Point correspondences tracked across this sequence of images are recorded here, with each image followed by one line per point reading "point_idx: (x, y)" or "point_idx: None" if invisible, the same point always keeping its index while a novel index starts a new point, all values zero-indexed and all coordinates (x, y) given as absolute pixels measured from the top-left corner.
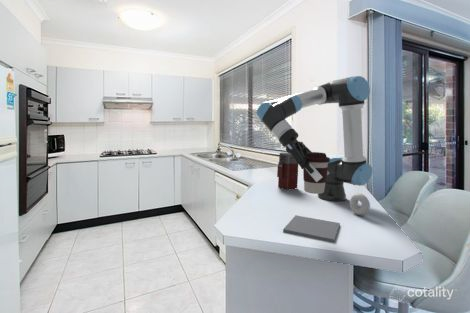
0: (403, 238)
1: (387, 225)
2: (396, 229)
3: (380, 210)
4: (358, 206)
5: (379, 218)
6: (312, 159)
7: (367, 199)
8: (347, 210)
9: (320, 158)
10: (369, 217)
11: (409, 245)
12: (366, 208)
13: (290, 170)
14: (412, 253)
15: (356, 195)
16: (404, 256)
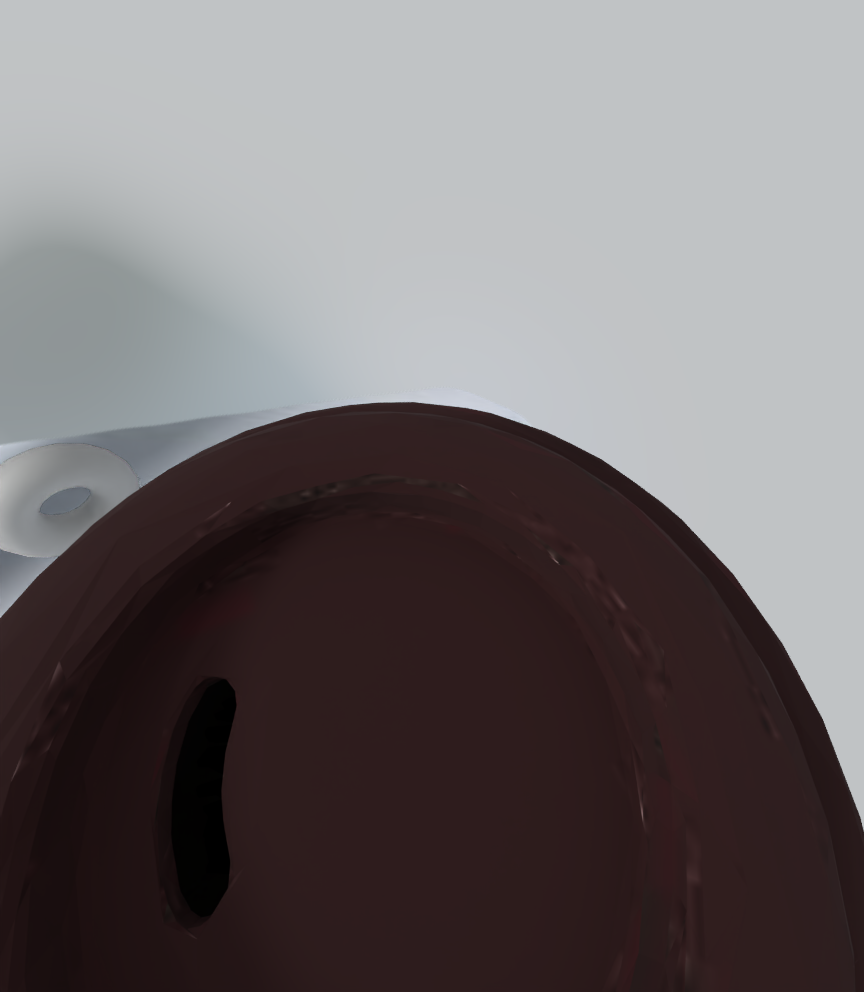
0: (355, 400)
1: (233, 431)
2: (270, 410)
3: (10, 444)
4: (58, 514)
5: (145, 452)
6: (822, 775)
7: (79, 445)
8: (28, 585)
9: (697, 544)
10: (139, 486)
11: (410, 392)
12: (131, 473)
13: None
14: (469, 392)
15: (16, 492)
16: (504, 410)
